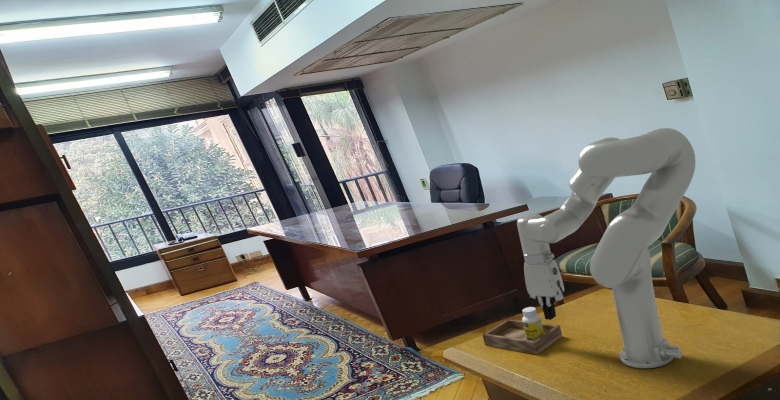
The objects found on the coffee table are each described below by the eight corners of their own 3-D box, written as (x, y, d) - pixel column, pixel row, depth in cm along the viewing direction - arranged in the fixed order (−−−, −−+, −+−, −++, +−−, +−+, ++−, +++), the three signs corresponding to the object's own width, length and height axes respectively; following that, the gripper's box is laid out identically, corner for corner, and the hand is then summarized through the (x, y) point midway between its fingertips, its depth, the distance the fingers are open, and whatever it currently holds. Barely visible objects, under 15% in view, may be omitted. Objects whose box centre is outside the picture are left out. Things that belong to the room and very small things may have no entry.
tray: (562, 336, 161) (559, 325, 161) (537, 354, 153) (534, 343, 153) (510, 329, 177) (507, 319, 176) (484, 345, 169) (482, 334, 168)
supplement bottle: (523, 343, 160) (516, 312, 160) (531, 335, 164) (524, 305, 164) (540, 344, 157) (533, 312, 156) (548, 336, 161) (541, 305, 160)
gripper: (567, 253, 149) (580, 315, 151) (524, 253, 161) (536, 310, 162) (552, 262, 144) (566, 326, 146) (509, 261, 156) (522, 320, 158)
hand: (550, 317), depth 154 cm, fingers closed
